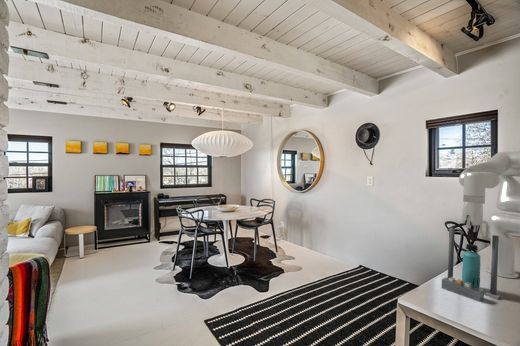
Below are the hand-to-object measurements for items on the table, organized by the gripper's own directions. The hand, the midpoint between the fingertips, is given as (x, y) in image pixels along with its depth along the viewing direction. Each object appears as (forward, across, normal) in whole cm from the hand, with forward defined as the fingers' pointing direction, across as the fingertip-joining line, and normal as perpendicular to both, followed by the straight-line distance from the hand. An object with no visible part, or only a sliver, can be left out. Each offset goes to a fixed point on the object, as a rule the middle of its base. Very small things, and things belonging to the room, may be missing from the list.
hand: (472, 240), depth 117 cm
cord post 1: (+22, 0, -8) cm, 24 cm away
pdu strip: (+22, +9, 0) cm, 24 cm away
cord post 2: (+22, 0, +8) cm, 24 cm away
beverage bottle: (+22, 0, 0) cm, 22 cm away
